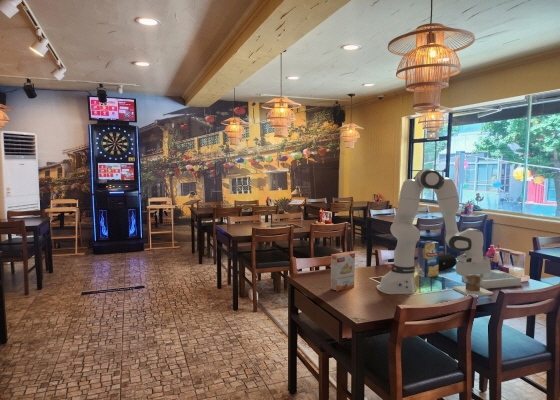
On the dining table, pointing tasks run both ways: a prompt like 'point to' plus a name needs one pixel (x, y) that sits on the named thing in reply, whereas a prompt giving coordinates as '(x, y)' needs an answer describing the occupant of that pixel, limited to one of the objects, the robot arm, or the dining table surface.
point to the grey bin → (499, 281)
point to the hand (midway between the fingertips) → (472, 281)
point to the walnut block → (473, 282)
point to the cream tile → (465, 291)
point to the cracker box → (342, 270)
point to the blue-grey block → (497, 275)
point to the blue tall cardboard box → (428, 258)
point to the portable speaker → (446, 261)
